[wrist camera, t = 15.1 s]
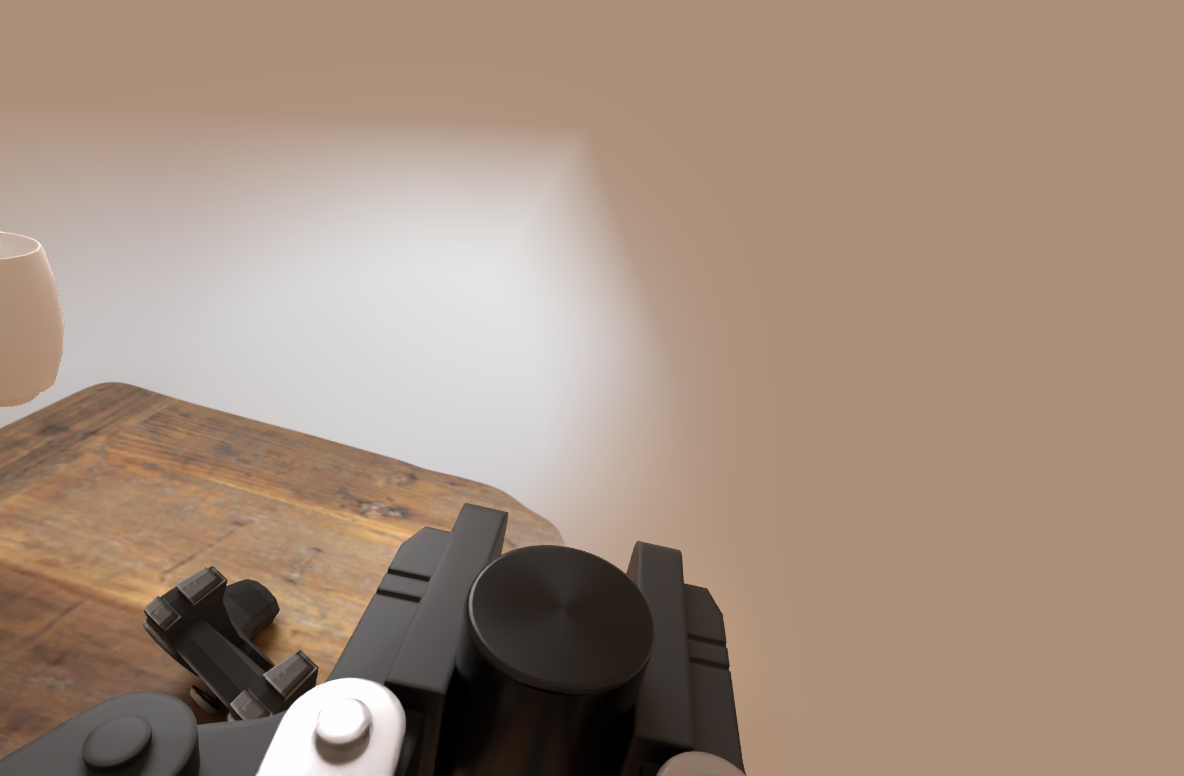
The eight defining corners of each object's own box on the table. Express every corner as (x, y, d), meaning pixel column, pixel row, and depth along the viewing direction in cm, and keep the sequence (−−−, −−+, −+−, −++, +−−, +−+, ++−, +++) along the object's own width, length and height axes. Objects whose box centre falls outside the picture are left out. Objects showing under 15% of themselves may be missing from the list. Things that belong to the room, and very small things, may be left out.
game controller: (181, 667, 44) (81, 606, 36) (266, 587, 47) (190, 517, 40) (331, 837, 37) (245, 806, 29) (419, 729, 40) (362, 675, 32)
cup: (0, 548, 46) (-66, 269, 37) (-52, 504, 49) (-126, 234, 40) (111, 503, 52) (76, 254, 43) (59, 466, 55) (16, 224, 46)
